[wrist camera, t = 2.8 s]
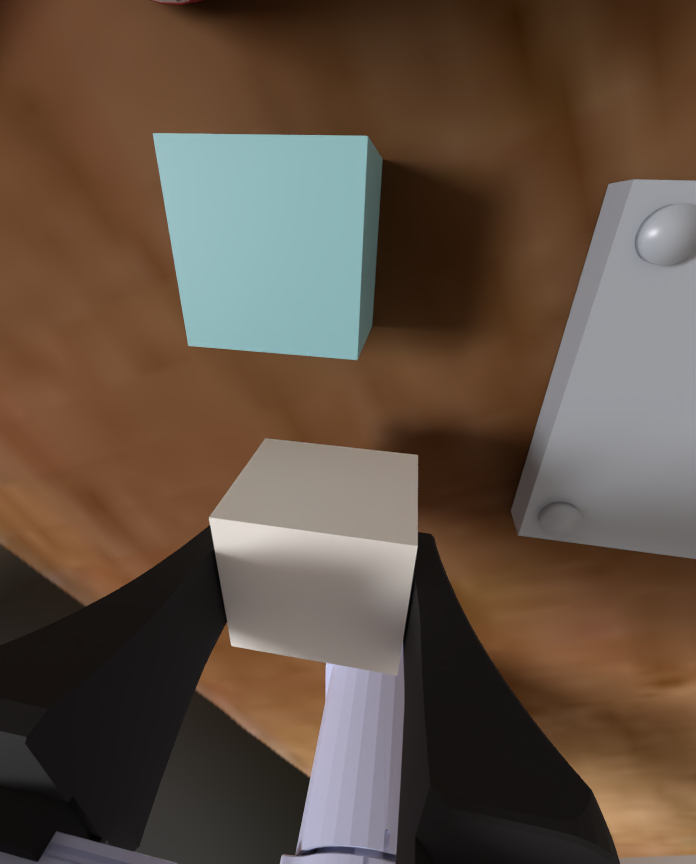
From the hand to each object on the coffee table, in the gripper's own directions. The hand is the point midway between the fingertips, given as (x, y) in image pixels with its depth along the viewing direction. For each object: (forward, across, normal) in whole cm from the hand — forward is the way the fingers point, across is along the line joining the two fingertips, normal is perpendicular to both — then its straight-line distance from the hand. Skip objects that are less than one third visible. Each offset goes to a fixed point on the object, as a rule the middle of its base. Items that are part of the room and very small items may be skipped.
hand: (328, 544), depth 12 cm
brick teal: (+5, +2, -8) cm, 10 cm away
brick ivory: (+2, 0, 0) cm, 2 cm away
